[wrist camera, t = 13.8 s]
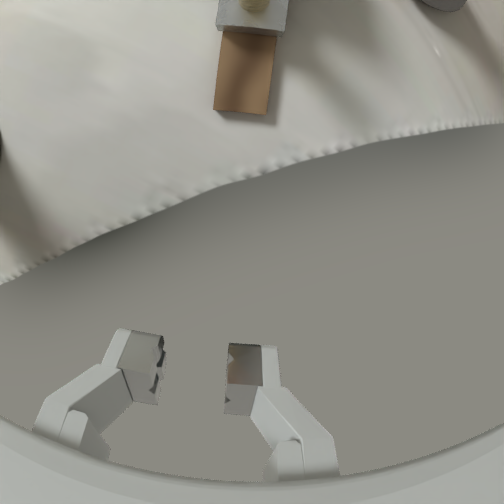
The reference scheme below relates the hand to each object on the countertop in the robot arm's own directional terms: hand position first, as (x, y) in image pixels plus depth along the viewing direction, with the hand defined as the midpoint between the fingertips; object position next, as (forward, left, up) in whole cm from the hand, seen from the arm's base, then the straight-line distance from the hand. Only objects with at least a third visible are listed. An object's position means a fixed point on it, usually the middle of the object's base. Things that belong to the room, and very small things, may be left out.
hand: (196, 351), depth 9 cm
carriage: (0, +20, -27) cm, 33 cm away
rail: (0, +15, -29) cm, 33 cm away
